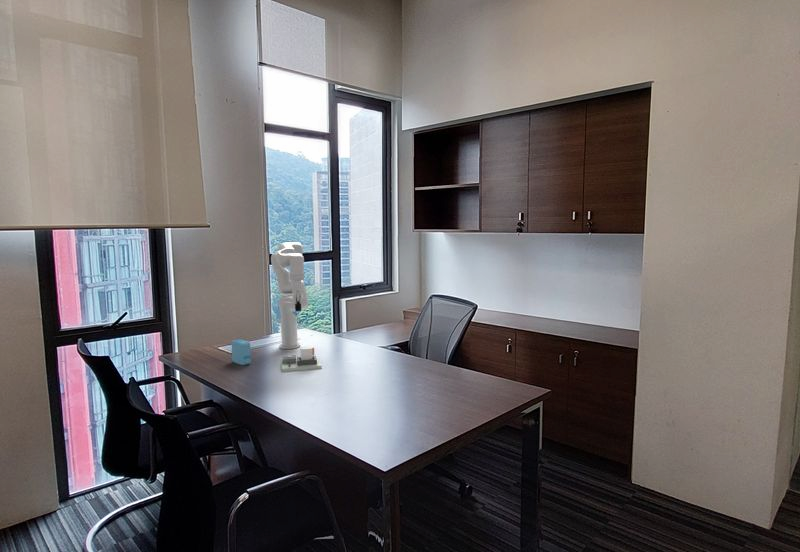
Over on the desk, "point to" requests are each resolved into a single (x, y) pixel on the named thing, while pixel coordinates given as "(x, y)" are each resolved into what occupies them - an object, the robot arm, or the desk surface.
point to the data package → (241, 352)
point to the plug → (307, 353)
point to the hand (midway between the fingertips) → (298, 310)
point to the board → (299, 363)
